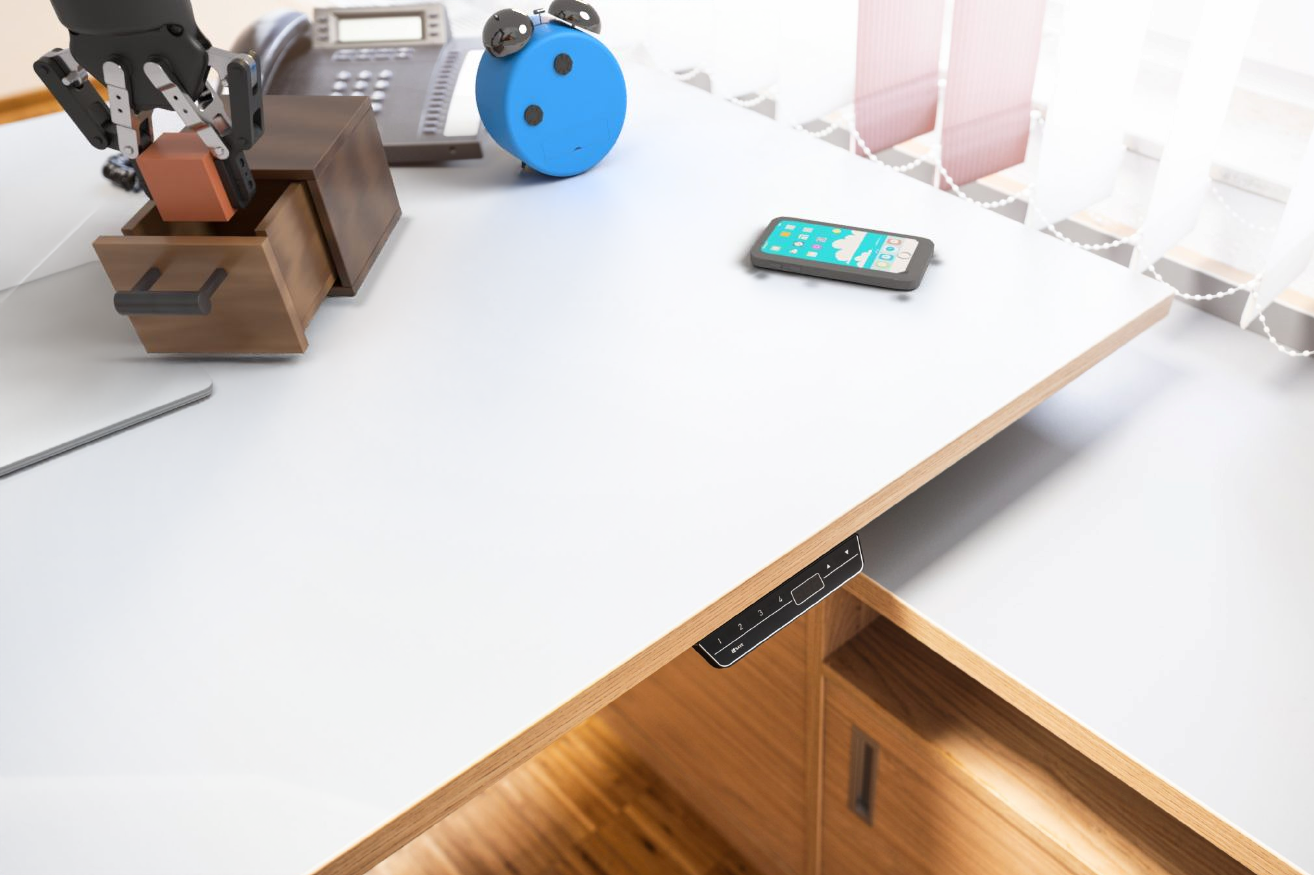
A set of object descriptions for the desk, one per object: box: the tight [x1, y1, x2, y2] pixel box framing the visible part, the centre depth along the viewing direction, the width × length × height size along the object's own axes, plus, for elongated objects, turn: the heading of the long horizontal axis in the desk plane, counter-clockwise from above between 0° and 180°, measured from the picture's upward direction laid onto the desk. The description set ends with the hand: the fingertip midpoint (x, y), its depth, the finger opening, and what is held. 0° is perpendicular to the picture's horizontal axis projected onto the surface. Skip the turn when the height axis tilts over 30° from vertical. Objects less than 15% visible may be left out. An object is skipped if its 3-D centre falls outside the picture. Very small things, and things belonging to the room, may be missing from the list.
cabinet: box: [178, 93, 403, 297], centre depth 87 cm, size 15×13×11 cm
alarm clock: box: [474, 0, 628, 177], centre depth 98 cm, size 13×6×15 cm, turn 131°
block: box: [136, 131, 238, 222], centre depth 74 cm, size 4×4×4 cm
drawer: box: [91, 179, 339, 355], centre depth 77 cm, size 18×11×9 cm, turn 2°
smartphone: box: [749, 216, 935, 291], centre depth 91 cm, size 9×1×15 cm
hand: (206, 203), depth 75 cm, fingers closed on block, 4 cm apart
